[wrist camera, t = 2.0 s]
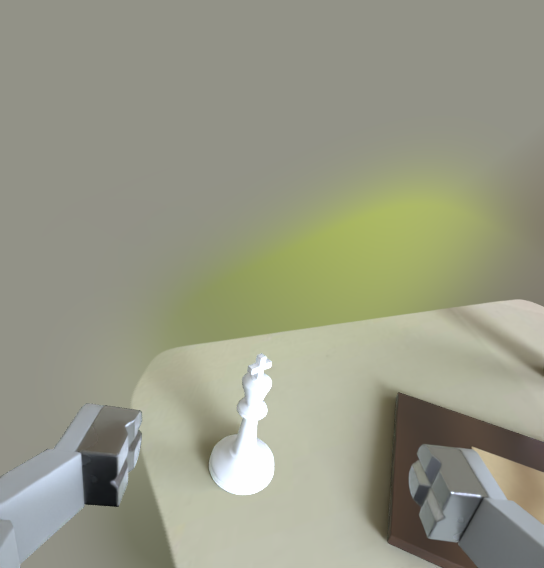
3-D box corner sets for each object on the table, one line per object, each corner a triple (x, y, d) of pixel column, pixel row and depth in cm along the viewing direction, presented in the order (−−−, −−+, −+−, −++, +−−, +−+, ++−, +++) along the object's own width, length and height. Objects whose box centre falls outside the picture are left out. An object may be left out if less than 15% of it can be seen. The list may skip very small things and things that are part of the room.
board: (386, 543, 24) (390, 534, 24) (396, 397, 38) (398, 390, 38) (771, 715, 19) (783, 707, 19) (619, 475, 33) (624, 468, 33)
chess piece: (286, 472, 28) (314, 364, 24) (235, 508, 25) (256, 391, 21) (246, 430, 31) (265, 328, 27) (196, 457, 28) (208, 346, 24)
